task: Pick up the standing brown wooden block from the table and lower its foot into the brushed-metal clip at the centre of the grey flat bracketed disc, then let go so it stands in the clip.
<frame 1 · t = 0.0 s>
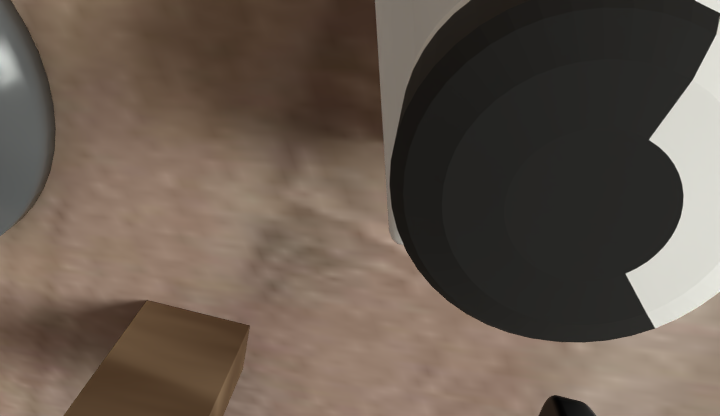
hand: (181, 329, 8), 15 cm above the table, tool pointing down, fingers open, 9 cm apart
medicine bottle: (514, 34, 20), on the table
brown wooden block: (195, 335, 27), on the table
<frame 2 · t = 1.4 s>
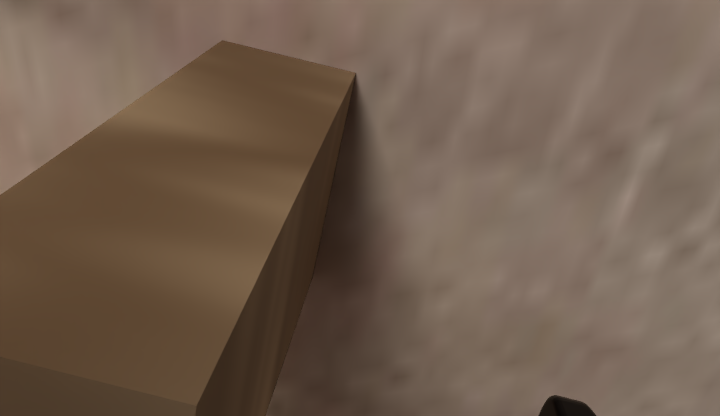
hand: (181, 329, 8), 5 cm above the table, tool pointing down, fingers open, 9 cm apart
brown wooden block: (271, 168, 12), on the table
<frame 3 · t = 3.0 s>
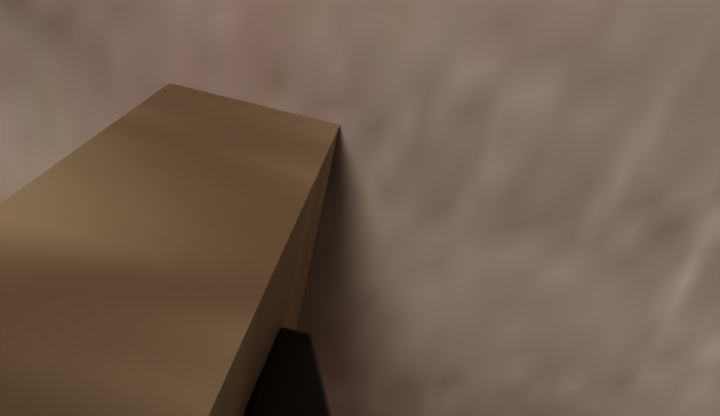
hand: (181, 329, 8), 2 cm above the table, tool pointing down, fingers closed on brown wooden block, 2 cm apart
brown wooden block: (235, 239, 10), on the table, touching gripper
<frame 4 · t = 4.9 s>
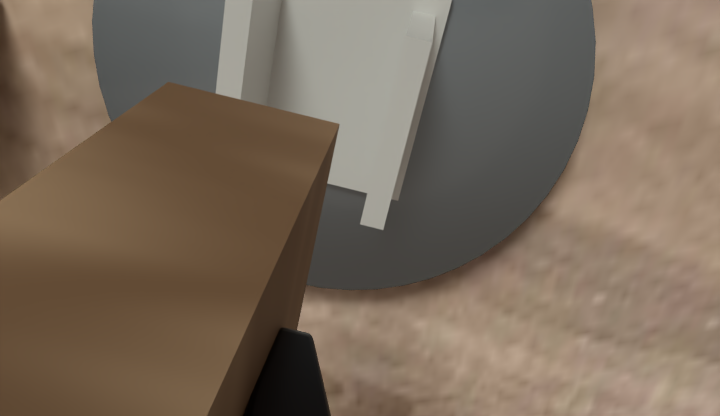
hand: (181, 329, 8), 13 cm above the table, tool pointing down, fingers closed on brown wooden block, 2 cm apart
brown wooden block: (235, 238, 10), point 10 cm above the table, touching gripper
grey flat bracketed disc: (340, 69, 19), on the table
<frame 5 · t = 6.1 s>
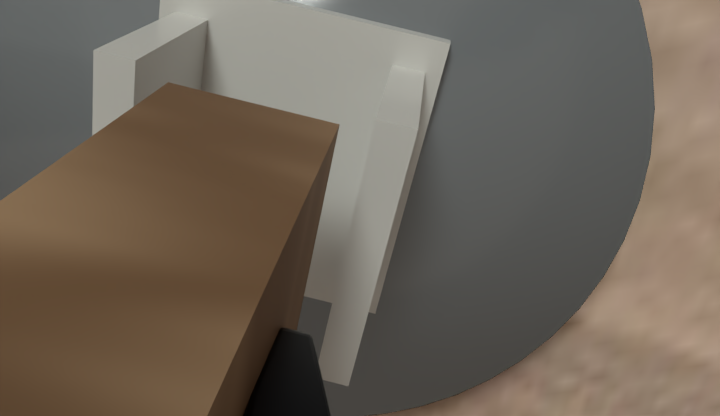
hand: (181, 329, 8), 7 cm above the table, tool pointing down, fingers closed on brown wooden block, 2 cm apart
brown wooden block: (235, 239, 10), point 5 cm above the table, touching gripper
grey flat bracketed disc: (296, 135, 14), on the table
when the fingers open (5 cm above the table, at t = 7.1 s): brown wooden block drops 2 cm, resting on grey flat bracketed disc.
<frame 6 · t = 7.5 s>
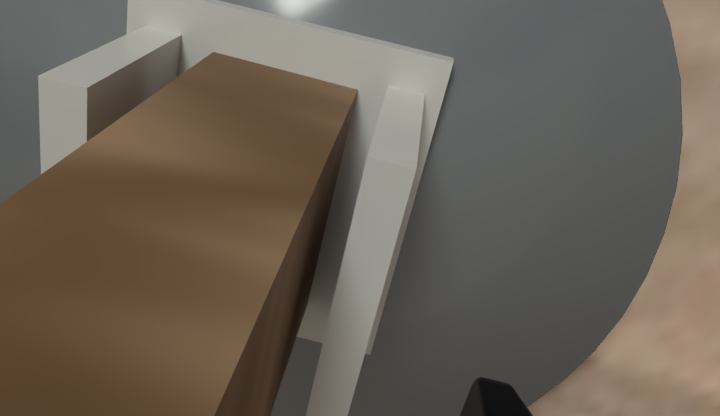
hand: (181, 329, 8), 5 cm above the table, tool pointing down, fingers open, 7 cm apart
brown wooden block: (264, 189, 11), point 1 cm above the table, touching grey flat bracketed disc
grey flat bracketed disc: (283, 159, 13), on the table
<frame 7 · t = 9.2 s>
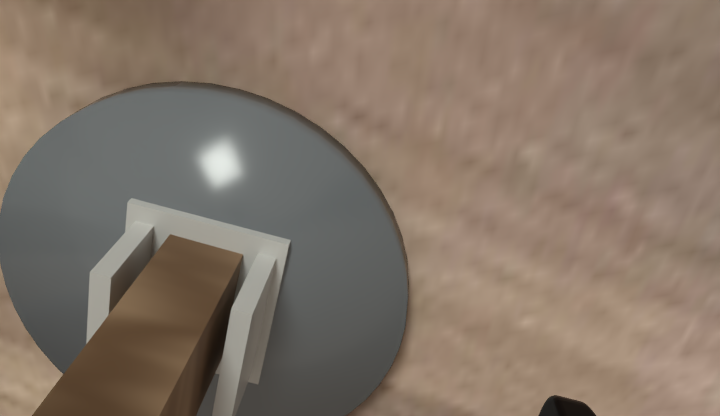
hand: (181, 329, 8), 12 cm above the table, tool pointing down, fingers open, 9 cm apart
brown wooden block: (197, 298, 21), point 1 cm above the table, touching grey flat bracketed disc
grey flat bracketed disc: (211, 275, 23), on the table
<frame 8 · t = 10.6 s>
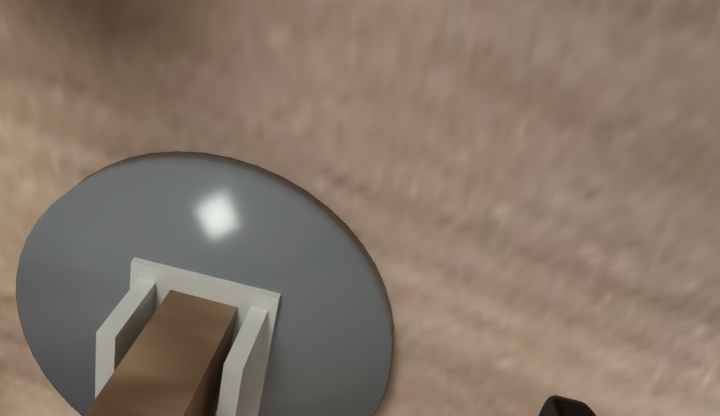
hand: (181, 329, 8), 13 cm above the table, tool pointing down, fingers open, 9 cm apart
brown wooden block: (197, 346, 23), point 1 cm above the table, touching grey flat bracketed disc
grey flat bracketed disc: (210, 321, 24), on the table
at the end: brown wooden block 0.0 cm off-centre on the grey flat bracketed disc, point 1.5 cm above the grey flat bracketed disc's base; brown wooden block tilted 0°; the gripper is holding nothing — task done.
